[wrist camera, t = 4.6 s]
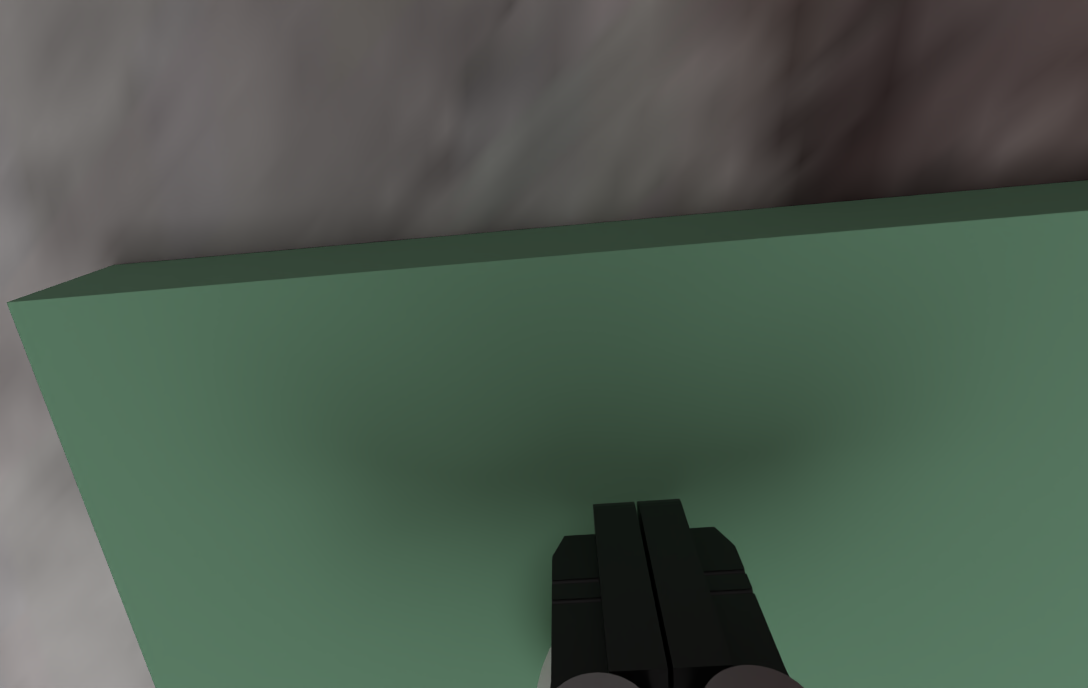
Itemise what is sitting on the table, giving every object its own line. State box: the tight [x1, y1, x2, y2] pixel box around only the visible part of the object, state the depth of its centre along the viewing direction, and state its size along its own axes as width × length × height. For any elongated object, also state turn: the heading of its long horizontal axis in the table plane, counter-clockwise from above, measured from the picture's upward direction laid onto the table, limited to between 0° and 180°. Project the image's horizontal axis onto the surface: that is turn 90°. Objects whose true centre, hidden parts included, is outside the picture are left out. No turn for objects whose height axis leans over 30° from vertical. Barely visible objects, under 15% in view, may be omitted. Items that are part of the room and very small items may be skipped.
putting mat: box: [7, 180, 1088, 688], centre depth 16 cm, size 20×22×3 cm
